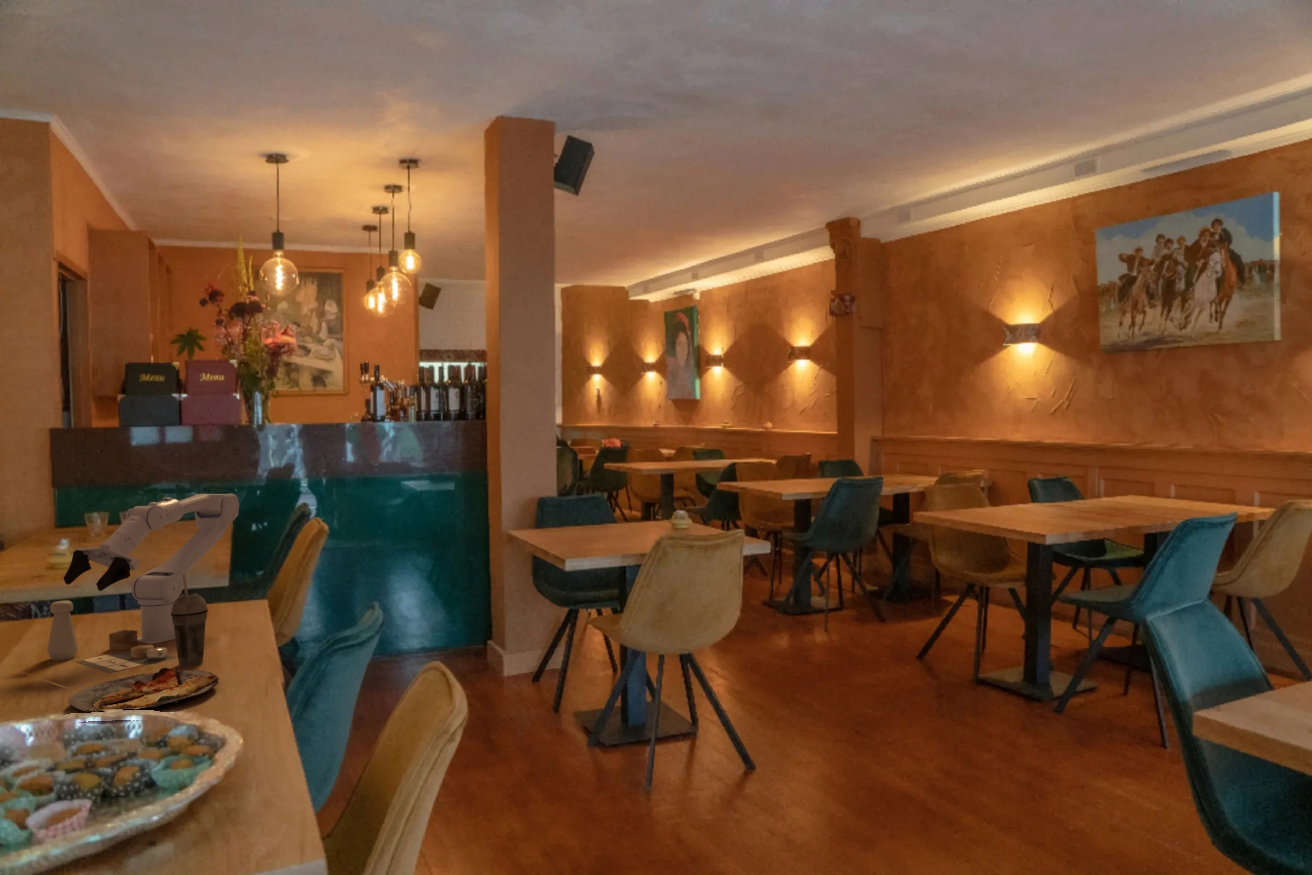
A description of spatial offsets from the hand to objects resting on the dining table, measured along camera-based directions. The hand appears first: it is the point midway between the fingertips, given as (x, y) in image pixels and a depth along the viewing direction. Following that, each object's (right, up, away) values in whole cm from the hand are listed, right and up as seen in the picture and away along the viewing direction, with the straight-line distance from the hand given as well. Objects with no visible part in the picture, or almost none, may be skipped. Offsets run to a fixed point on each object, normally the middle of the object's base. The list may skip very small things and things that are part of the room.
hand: (82, 584), depth 200 cm
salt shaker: (-7, -18, +5) cm, 20 cm away
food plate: (+28, -18, -25) cm, 42 cm away
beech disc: (+10, -17, +5) cm, 20 cm away
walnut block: (+1, -17, +13) cm, 22 cm away
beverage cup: (+25, -17, -2) cm, 30 cm away
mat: (+8, -17, +2) cm, 19 cm away
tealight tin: (+15, -17, +3) cm, 23 cm away
